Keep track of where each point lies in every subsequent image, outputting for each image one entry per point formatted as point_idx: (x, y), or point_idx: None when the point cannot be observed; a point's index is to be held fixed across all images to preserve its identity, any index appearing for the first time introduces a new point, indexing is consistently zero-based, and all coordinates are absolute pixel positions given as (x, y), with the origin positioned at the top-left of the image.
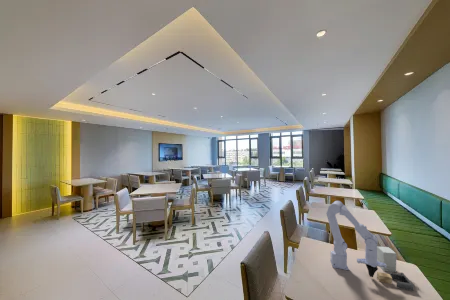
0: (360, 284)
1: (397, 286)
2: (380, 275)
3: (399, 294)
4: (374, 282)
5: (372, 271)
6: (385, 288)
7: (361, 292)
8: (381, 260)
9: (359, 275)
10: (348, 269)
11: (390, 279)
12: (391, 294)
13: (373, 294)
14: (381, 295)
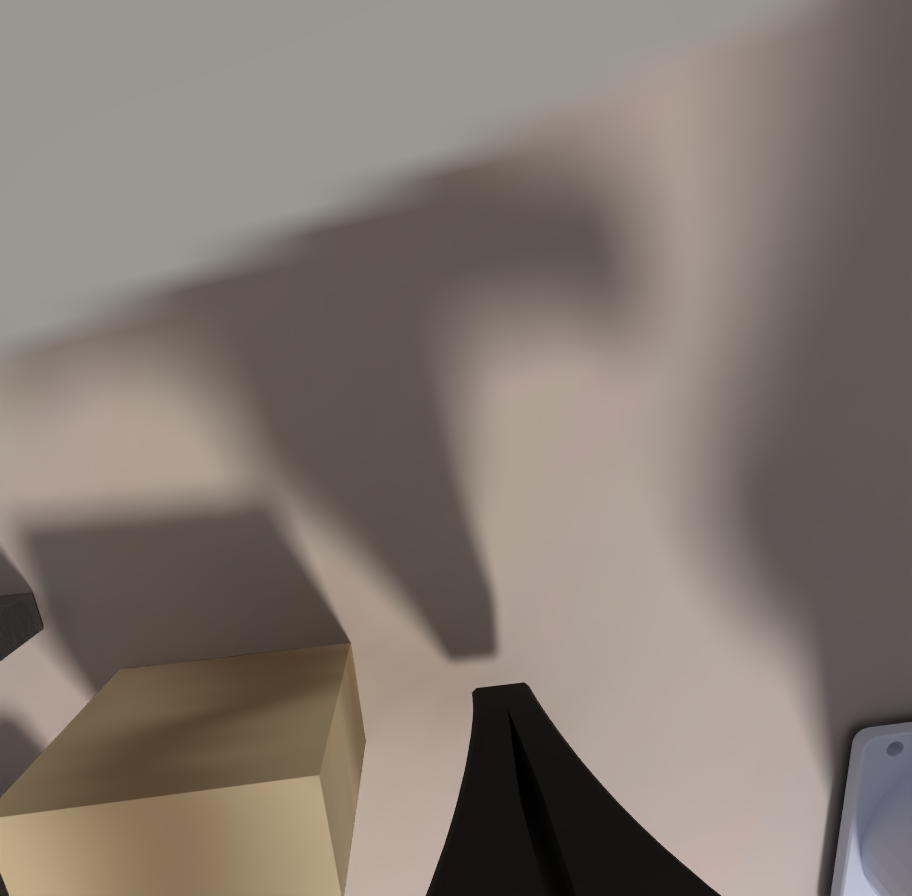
0: (786, 375)
1: (1, 610)
2: (295, 784)
3: (35, 378)
4: (463, 569)
5: (529, 844)
6: (290, 463)
7: (878, 77)
8: None
9: (694, 665)
10: (872, 747)
11: (73, 755)
12: (212, 300)
13: (624, 118)
14: (450, 160)
